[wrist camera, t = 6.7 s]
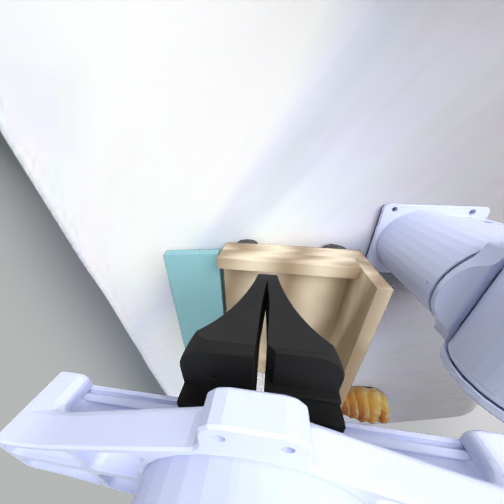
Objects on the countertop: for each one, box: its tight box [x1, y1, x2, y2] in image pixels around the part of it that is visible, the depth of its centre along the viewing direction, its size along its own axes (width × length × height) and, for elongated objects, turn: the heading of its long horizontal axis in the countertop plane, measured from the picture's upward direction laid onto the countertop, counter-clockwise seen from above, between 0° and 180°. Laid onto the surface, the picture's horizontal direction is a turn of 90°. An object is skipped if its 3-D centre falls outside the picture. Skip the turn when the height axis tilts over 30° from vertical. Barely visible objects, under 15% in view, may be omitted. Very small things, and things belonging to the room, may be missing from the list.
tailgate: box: [163, 249, 224, 349], centre depth 25 cm, size 2×17×6 cm
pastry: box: [341, 386, 389, 424], centre depth 33 cm, size 9×7×4 cm
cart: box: [217, 240, 394, 408], centre depth 23 cm, size 15×18×8 cm
